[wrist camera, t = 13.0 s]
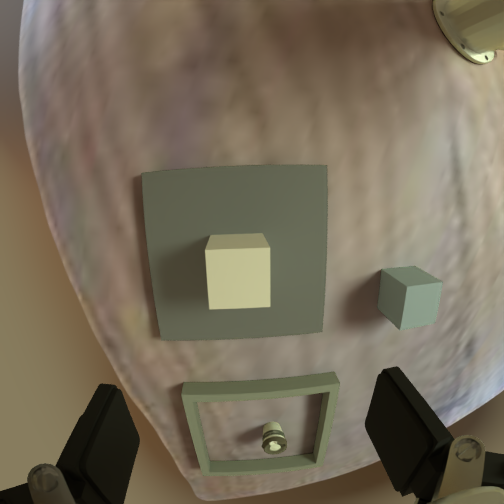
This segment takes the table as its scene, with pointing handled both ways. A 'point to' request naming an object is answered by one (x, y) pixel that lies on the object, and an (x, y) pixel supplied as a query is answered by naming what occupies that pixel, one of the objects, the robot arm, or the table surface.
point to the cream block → (238, 271)
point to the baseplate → (237, 222)
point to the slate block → (409, 296)
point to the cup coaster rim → (258, 391)
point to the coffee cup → (273, 438)
